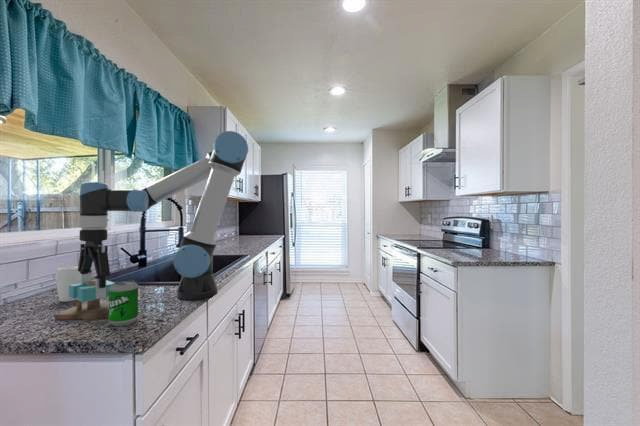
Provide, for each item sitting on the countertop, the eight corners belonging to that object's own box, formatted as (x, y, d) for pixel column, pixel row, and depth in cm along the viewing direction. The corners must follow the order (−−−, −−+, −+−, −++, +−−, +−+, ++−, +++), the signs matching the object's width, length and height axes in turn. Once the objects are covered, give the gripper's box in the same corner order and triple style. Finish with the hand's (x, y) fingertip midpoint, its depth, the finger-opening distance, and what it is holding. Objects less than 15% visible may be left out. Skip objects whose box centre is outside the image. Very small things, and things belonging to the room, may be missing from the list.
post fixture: (126, 304, 110) (126, 275, 110) (102, 318, 96) (102, 285, 96) (85, 305, 109) (85, 276, 109) (54, 319, 95) (55, 285, 95)
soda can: (126, 317, 98) (126, 279, 98) (143, 320, 95) (143, 281, 95) (102, 325, 91) (102, 284, 91) (120, 328, 88) (120, 286, 88)
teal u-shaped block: (103, 290, 110) (103, 279, 110) (117, 294, 104) (117, 283, 104) (68, 297, 101) (68, 284, 101) (82, 302, 96) (82, 289, 96)
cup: (54, 298, 118) (55, 267, 118) (84, 294, 124) (84, 264, 124) (55, 304, 111) (55, 271, 111) (86, 299, 117) (86, 268, 117)
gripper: (123, 229, 100) (122, 297, 100) (91, 227, 112) (90, 288, 112) (96, 230, 94) (96, 303, 94) (66, 227, 106) (65, 292, 106)
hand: (93, 295), depth 103 cm, fingers closed on teal u-shaped block, 10 cm apart
